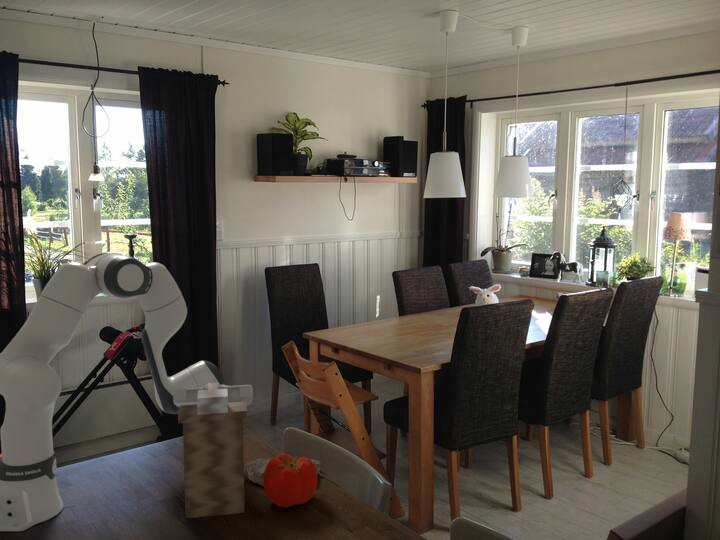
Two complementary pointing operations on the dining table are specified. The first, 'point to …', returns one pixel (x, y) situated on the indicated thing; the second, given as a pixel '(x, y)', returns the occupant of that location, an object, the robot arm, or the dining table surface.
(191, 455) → the walnut stand
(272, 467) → the tomato
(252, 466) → the clay tablet
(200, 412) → the mallet
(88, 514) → the dining table surface
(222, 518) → the dining table surface
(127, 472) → the dining table surface
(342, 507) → the dining table surface
